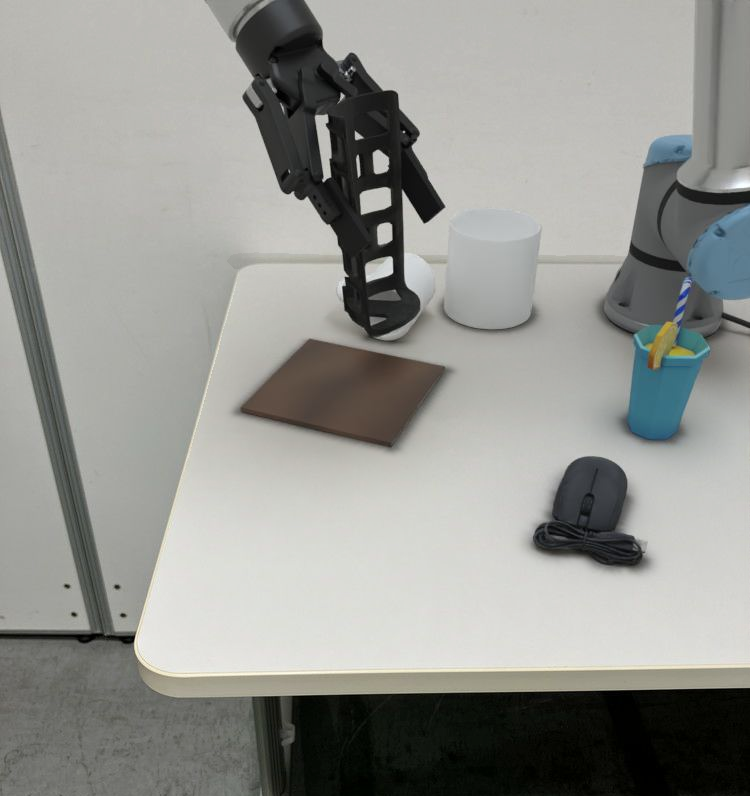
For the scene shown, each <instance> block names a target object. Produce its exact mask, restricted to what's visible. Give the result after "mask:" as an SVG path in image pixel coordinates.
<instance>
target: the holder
mask: <svg viewBox="0 0 750 796" xmlns="http://www.w3.org/2000/svg"><path fill="white" fill-rule="evenodd" d="M340 101H341V100H340ZM340 101H339V102H338V103H337V104H336V105H334V106H332V107H331V108H329V109H327V110H326V113H327V114H328V115H327V114H326V115H327V119H328V120H327V122H326V123H325V127H326V128H327V130H328V135H329V143H330V152H331V153H330V158H328V161H329V169H330V177H333V178H334V179H335V181H336V182H337V184H338V185H339V187H340V189H341V190H342V192H343V193H344V195H345V197H346V198H347V200H348V201H349V203H350V204H351V206H352V208H353V209H354V211H355V212H356V214H357V216H358V217H359V219H360V220H361V222H362V223H363V225H364V227H365V228H366V230H367V231H368V233H369V234H370V236H371V238H372V239H373V242H371V243H370V244H369V245H368V246H367V247H366V248H365V249H364V250H363V251H361V252H360V253H359V254H358V255H357V256H355V257H353V258H351V257H350V256H349V254H348V253H347V251H346V250H345V248H344V246H343V245H342V243H341V242H340V240H339V239H338V237H337V236H336V239H337V246H338V247H339V249H340V250H341V255H342V266H343V272H344V273H345V275H347V276H344V278H345V285H346V286H342V292H343V302H344V303H343V302H342V303H343V310H344V312H345V313H347V315H348V316H349V318H350V320H351V321H352V322H353V323H354V324H355V325H357V326H359V327H360V328H361V327H363V328H364V329H365V331H366V332H367V333H366V332H365V331H364V332H365V333H366V334H367V335H368V337H369V338H374V337H380V336H383V335H386V334H389V333H390V332H392V331H394V330H396V329H398V328H401V327H402V326H404V325H406V324H407V323H409V322H410V321H411V320H413V319H414V318H415V317H416V316H417V314H418V313H419V311H420V299H419V297H418V295H417V294H416V293H415V292H413V291H412V290H410V289H409V288H408V287H407V285H406V283H405V276H404V253H405V236H404V235H405V234H404V232H405V231H404V230H405V229H404V203H403V201H404V198H403V190H402V186H401V139H400V117H399V109H400V99H399V93H398V92H397V91H396V90H393V89H385V90H383V91H378V92H372V93H366V94H362V95H357V96H353V97H350V98H347V99H345V100H343V101H341V102H340ZM376 110H380V111H383V112H385V113H386V116H387V131H386V132H385V133H383V134H382V135H377V136H372V137H367V138H363V137H362V138H359V139H356V131H355V129H354V121H353V117H354V116H356V115H358V114H361V113H367V112H371V111H376ZM380 150H387V151H388V155H389V158H388V165H389V167H388V169H387V171H384V172H380V173H375V166H374V153H375V152H376V151H380ZM357 158H358V162H359V172H358V163H357ZM359 174H360V175H359ZM383 188H387V189H389V190H390V205H389V206H387V207H386V208H383V209H378V210H373V211H370V212H366V213H362V207H361V194H362V193H363V192H367V191H371V190H377V189H383ZM382 224H383V225H384V224H390V225H391V240H390V241H388V242H387V243H383V244H379V237H378V228H379V226H380V225H382ZM388 257H392V258H393V273H392V274H391V275H389V276H386V277H383V278H379V279H375V280H372V281H369V282H366V275H367V273H366V265H367V264H368V263H370V262H372V261H375V260H379V259H383V258H388ZM390 290H396V293H397V294H398V295H399V297H400V298H401V300H398V301H388V300H369V299H368V298H369V297H371V296H373V295H375V294H378V293H381V292H385V291H390ZM370 317H380V318H386V320H384V321H381V322H379V323H377V324H374V325H371V324H370Z"/></svg>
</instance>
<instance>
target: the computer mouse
mask: <svg viewBox="0 0 750 796" xmlns="http://www.w3.org/2000/svg"><path fill="white" fill-rule="evenodd" d="M628 486H629V485H628V478H627V474H626V472H625V471H624V469H623V468H622V467H621V466H620V465H619V464H617V463H616V462H614V460H611V459H609V458H606V457H602V456H596V455H587V456H581V457H578V458H576V459H574V460H573V461H571V462H570V463H569V465H567V466H566V469H565V471H564V474H563V476H562V478H561V480H560V482H559V485H558V487H557V489H556V493H555V496H554V500H553V506H552V512H551V516H552V518H553V520H550V521H547V522H543V523H541V524H539V525H538V527H536V529H535V530H534V533H533V536H532V540H533V543H534V544H536V545H537V546H538V547H540V548H542V549H544V550H563V549H580V551H582V552H586V551H587V552H588V553H589V554H590V555H591V556H592V557H594V558H595V559H596V560H598V561H599V562H601V563H603V564H605V565H610V566H611V565H615V564H617V562H618V563H624V564H628V565H636V564H638V563H639V562H640V561H641V562H642V559H643V557H644V554H646V553H647V549H648V543H649V542H648V540H645V539H640V538H636V537H635V536H634V535H632V534H627V533H622V532H617V531H615V530H616V528H617V525H618V522H619V520H620V518H621V514H622V509H623V506H624V502H625V499H626V496H627V491H628ZM547 537H548V538H547ZM557 537H560V538H557ZM561 537H562V538H561ZM597 555H598V556H597ZM599 556H601V557H604V558H606V559H607V560H605V559H602V558H601V557H599Z"/></svg>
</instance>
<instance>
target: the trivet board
mask: <svg viewBox="0 0 750 796" xmlns="http://www.w3.org/2000/svg"><path fill="white" fill-rule="evenodd" d="M445 371H446V366H444V365H440V364H436V363H435V364H434V363H430V362H425V361H420V360H415V359H410V358H406V357H401V356H396V355H391V354H387V353H382V352H376V351H372V350H368V349H362V348H358V347H352V346H347V345H342V344H338V343H333V342H327V341H322V340H319V339H315V338H309V339H307V340H306V341H305V342H304V344H303V345H302V346H301V347H299V349H297V350H296V351H295V352H294V354H292V355H291V356H290V357H289V358H288V359H287V360H286V361H285V362H284V363H283V365H281V366H280V367H279V368H278V369H277V371H275V373H273V374H272V375H271V376H270V377H269V378H268V379H267V380H266V381H265V382H264V383H263V384H262V385H261V386H260V387H259V388H258V389H257V391H255V392H254V393H253V394H252V395H251V396H250V397H249V398H248V399H247V400H246V401H245V403H243V405H242V406H241V407H240V412H241V413H245V414H248V415H249V414H250V415H253V416H258V417H261V418H262V417H263V418H266V419H270V420H275V421H280V422H283V423H287V424H292V425H295V426H296V425H297V426H300V427H304V428H309V429H313V430H317V431H321V432H326V433H329V434H334V435H338V436H342V437H345V438H346V437H347V438H351V439H355V440H359V441H363V442H368V443H372V444H375V445H381V446H385V447H389V448H391V447H393V445H394V443H396V441H397V439H398V438H399V436H400V435H401V434H402V432H403V431H404V429H405V428H406V427H407V425H408V424H409V422H410V421H411V419H412V418H413V417H414V415H415V414H416V412H417V411H418V409H419V408H420V407H421V405H422V403H423V402H424V401H425V399H426V398H427V396H428V395H429V393H430V392H431V391H432V389H433V388H434V386H435V385H436V384H437V383H438V381H439V379H440V378H441V377H442V375H443V374H444V372H445Z"/></svg>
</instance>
